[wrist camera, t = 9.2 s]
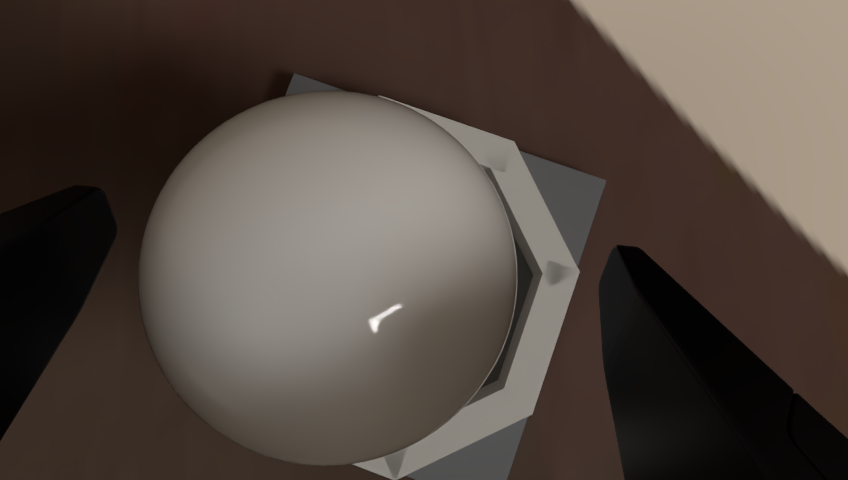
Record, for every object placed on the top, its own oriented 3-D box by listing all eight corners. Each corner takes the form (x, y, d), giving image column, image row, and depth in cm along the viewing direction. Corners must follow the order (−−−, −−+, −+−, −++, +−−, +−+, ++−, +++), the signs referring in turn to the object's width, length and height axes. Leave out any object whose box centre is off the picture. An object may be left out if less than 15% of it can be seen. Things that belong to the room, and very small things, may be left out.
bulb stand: (492, 498, 18) (502, 531, 15) (184, 381, 18) (145, 394, 16) (597, 186, 19) (622, 170, 16) (301, 84, 19) (281, 53, 17)
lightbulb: (247, 254, 18) (-56, 182, 7) (411, 152, 18) (376, -76, 7) (347, 424, 17) (193, 649, 6) (517, 316, 17) (660, 347, 6)
